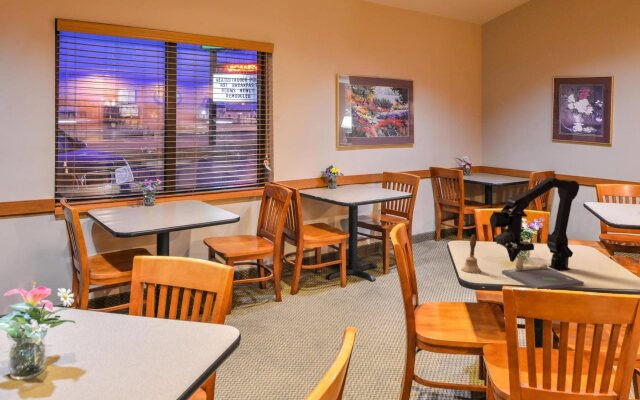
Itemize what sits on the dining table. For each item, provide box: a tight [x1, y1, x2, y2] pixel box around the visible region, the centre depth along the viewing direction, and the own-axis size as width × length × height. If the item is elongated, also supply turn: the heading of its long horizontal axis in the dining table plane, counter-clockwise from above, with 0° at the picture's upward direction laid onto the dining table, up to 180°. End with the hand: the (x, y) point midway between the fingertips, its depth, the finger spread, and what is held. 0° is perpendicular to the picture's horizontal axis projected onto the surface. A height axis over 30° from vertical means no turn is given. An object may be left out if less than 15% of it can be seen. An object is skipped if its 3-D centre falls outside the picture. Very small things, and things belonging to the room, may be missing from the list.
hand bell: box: [460, 234, 482, 274], centre depth 221 cm, size 8×8×16 cm
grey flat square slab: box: [501, 267, 585, 290], centre depth 211 cm, size 22×22×2 cm
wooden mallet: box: [513, 256, 548, 270], centre depth 219 cm, size 16×4×5 cm, turn 107°
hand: (511, 261), depth 222 cm, fingers closed
